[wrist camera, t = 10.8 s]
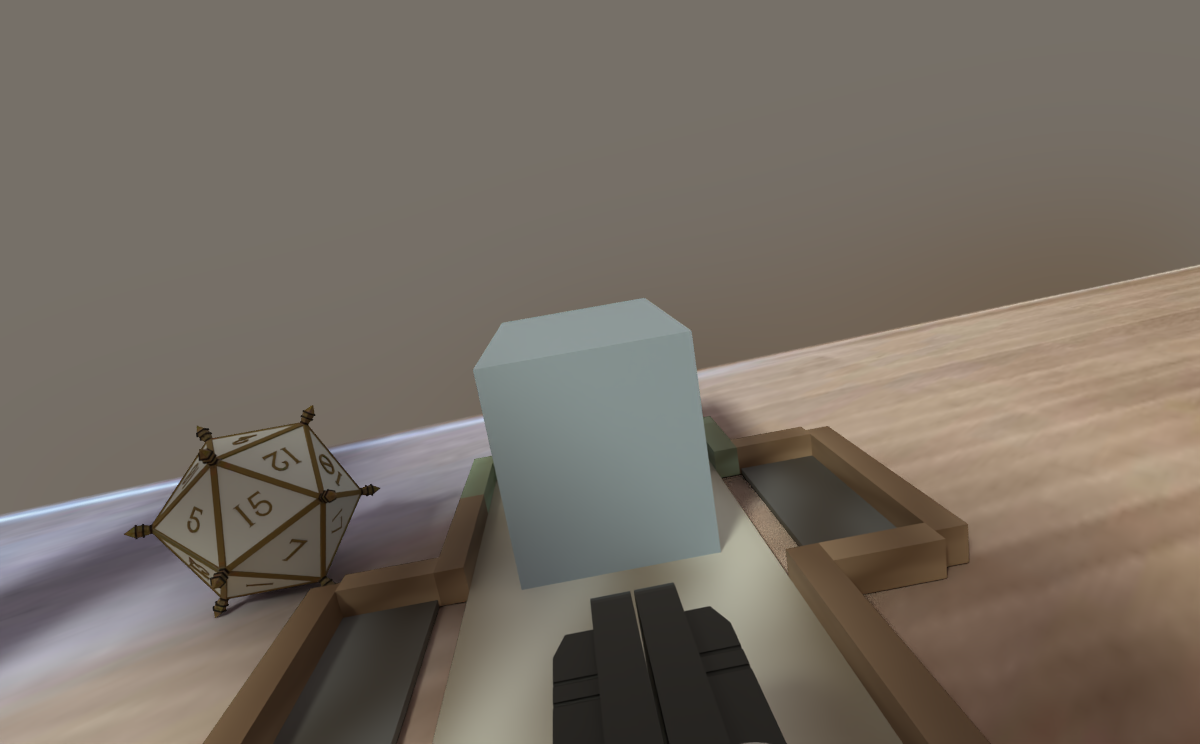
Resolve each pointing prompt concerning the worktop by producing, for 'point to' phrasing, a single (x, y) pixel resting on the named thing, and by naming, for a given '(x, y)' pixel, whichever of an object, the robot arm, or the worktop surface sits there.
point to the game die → (259, 511)
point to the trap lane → (547, 613)
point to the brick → (598, 441)
